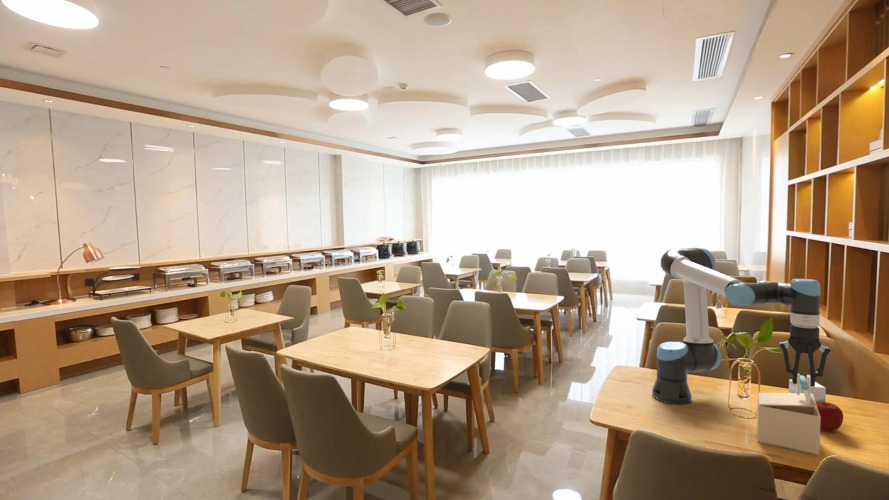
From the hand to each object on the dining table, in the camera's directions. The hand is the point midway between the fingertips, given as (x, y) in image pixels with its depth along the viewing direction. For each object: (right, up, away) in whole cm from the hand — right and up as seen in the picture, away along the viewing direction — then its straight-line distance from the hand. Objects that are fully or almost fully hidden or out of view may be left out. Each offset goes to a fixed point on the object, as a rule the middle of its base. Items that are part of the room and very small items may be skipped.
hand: (803, 394), depth 143 cm
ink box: (+23, -16, +26) cm, 38 cm away
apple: (+17, -17, +11) cm, 27 cm away
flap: (-3, -3, +3) cm, 5 cm away
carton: (-3, -17, +3) cm, 18 cm away
